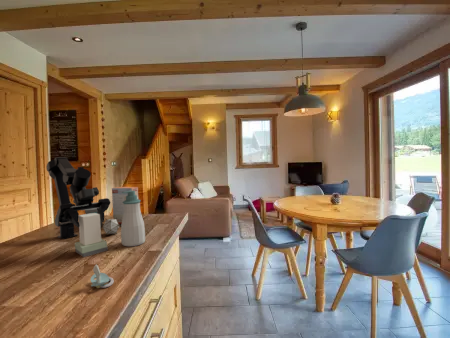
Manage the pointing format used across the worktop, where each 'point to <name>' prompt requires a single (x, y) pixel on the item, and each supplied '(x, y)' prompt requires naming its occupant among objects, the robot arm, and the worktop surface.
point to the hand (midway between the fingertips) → (91, 224)
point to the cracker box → (120, 201)
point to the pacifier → (100, 278)
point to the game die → (111, 226)
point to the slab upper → (90, 246)
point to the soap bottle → (132, 221)
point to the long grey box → (93, 212)
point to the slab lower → (92, 252)
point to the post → (89, 228)
